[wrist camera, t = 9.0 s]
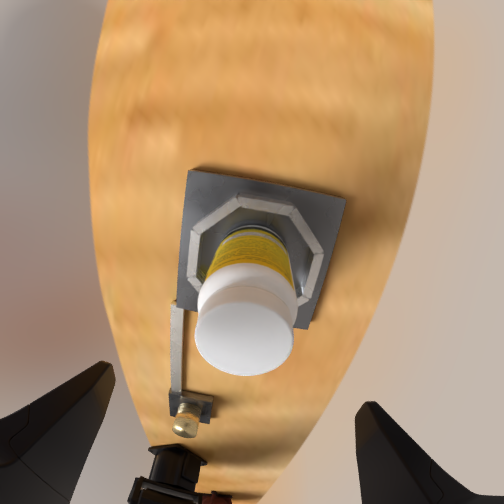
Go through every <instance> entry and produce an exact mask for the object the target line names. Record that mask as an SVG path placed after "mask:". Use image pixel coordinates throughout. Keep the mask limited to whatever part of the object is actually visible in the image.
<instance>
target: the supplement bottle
mask: <svg viewBox="0 0 504 504" xmlns="http://www.w3.org/2000/svg"><path fill="white" fill-rule="evenodd" d="M297 311H298V303H297V296H296V291H295V286H294V281H293V276H292V270H291V265H290V259H289V253H288V250H287V248H286V245H285V244H284V242H283V240H282V239H281V238H280V237H279V236H278V235H277V234H276V233H275V232H273V231H272V230H270V229H268V228H266V227H262V226H257V225H247V226H242V227H239V228H236V229H234V230H233V231H231V232H230V233H228V234H227V235H226V236H225V237H224V238H223V239H222V241H221V242H220V244H219V246H218V248H217V251H216V253H215V255H214V258H213V260H212V262H211V265H210V267H209V270H208V272H207V274H206V277H205V279H204V282H203V283H202V286H201V289H200V292H199V296H198V313H199V315H198V321H197V325H196V329H195V342H196V346H197V348H198V350H199V352H200V354H201V355H202V356H203V358H204V359H205V360H206V361H207V362H208V363H210V364H211V365H212V366H214V367H215V368H217V369H219V370H221V371H224V372H227V373H230V374H234V375H241V376H252V375H259V374H263V373H266V372H269V371H271V370H273V369H275V368H277V367H278V366H280V365H281V364H282V363H283V362H284V361H285V360H286V359H287V358H288V356H289V355H290V353H291V351H292V348H293V343H294V334H293V325H294V323H295V321H296V318H297Z"/></svg>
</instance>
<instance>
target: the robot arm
mask: <svg viewBox="0 0 504 504" xmlns="http://www.w3.org/2000/svg"><path fill="white" fill-rule="evenodd" d="M114 386H115V374H114V370H113V366H112V364H111V363H108V362H105V361H99V362H98V363H96V364H94V365H93V366H91V367H90V368H88V369H86V370H85V371H83V372H81V373H80V374H78V375H77V376H75V377H73V378H71V379H70V380H68V381H67V382H65V383H63V384H62V385H60V386H58V387H57V388H55V389H53V390H52V391H50V392H48V393H47V394H45V395H43V396H42V397H40V398H38V399H37V400H35V401H33V402H32V403H30V405H27V406H25V407H23V408H21V409H20V410H18V411H16V412H14V413H12V414H10V415H8V416H6V417H4V418H2V419H0V504H70V501H71V498H72V495H73V493H74V490H75V487H76V485H77V482H78V479H79V477H80V474H81V472H82V469H83V466H84V464H85V461H86V459H87V457H88V454H89V452H90V449H91V447H92V445H93V443H94V440H95V438H96V436H97V433H98V431H99V429H100V426H101V424H102V422H103V419H104V417H105V414H106V410H107V407H108V404H109V401H110V398H111V395H112V392H113V389H114ZM355 437H356V456H357V464H358V472H359V480H360V488H361V497H362V504H504V496H488V495H479V494H475V493H473V492H471V491H470V490H468V489H467V488H465V487H464V486H463V485H462V484H460V483H459V482H458V481H456V480H455V479H454V478H453V477H451V476H450V475H449V474H448V473H447V472H445V471H444V470H443V469H442V468H441V467H440V466H439V465H438V464H437V463H436V462H435V461H434V460H433V459H431V457H430V456H429V455H428V454H427V453H426V452H425V451H424V450H423V449H422V448H421V447H420V446H419V445H418V444H417V443H416V442H415V441H414V440H413V439H412V438H411V437H410V436H409V435H408V434H407V433H406V432H405V431H404V430H403V429H402V428H401V427H400V426H399V425H398V424H397V423H396V422H395V421H394V420H393V419H392V418H391V417H390V416H389V415H388V414H387V412H385V410H384V409H383V408H382V407H381V406H380V405H379V404H378V403H377V402H375V401H371V402H370V401H367V402H365V403H364V404H363V405H362V407H361V408H360V409H359V411H358V412H357V414H356V416H355ZM148 451H150V452H151V453H153V454H154V455H155V458H154V462H153V465H152V469H151V472H150V476H149V479H146V478H144V477H142V476H141V477H140V478H135V481H134V484H133V487H132V490H131V492H130V495H129V497H128V500H127V502H128V503H129V504H202V497H203V493H197V492H194V491H195V485H196V483H198V478H199V472H200V466H204V465H207V462H206V461H205V460H203V459H201V458H200V457H198V456H196V455H195V454H193V453H191V452H190V451H188V450H187V449H185V448H184V447H182V446H181V445H178V444H175V445H167V446H159V447H149V449H148ZM143 488H144V489H143Z"/></svg>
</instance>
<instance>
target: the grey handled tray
mask: <svg viewBox="0 0 504 504" xmlns="http://www.w3.org/2000/svg"><path fill="white" fill-rule="evenodd" d="M345 204H346V199H344V198H343V197H339V196H335V195H330V194H326V193H322V192H317V191H313V190H308V189H303V188H298V187H294V186H289V185H284V184H279V183H273V182H268V181H263V180H257V179H252V178H246V177H240V176H234V175H228V174H221V173H214V172H208V171H201V170H193V169H191V170H188V175H187V183H186V191H185V200H184V209H183V218H182V228H181V240H180V252H179V265H178V281H177V301H172V303H171V328H170V358H171V388H170V391H169V407H170V416H173V417H176V418H175V421H174V425H173V429H172V430H173V432H174V433H175V434H177V435H179V436H181V437H184V438H194V437H196V435H197V430H198V425H199V422H201V423H206V424H210V418H211V410H212V403H213V396H208V395H203V394H198V393H193V392H188V391H184V390H182V364H183V334H184V314H185V309H186V310H191V311H196V312H198V296H199V292H200V289H201V286H202V283H203V282H204V279H205V277H206V274H207V272H208V270H209V267H210V265H211V262H212V260H213V258H214V255H215V253H216V251H217V248H218V246H219V244H220V242H221V241H222V239H223V238H224V237H225V236H226V235H227V234H228V233H230V232H231V231H233V230H234V229H236V228H239V227H242V226H247V225H257V226H262V227H266V228H268V229H270V230H272V231H273V232H275V233H276V234H277V235H278V236H279V237H280V238H281V239H282V240H283V242H284V244H285V245H286V248H287V250H288V253H289V259H290V265H291V270H292V276H293V281H294V286H295V291H296V296H297V303H298V311H297V318H296V321H295V323H294V325H293V328H299V329H307V330H308V327H309V324H310V321H311V318H312V316H313V313H314V310H315V307H316V304H317V301H318V298H319V295H320V291H321V288H322V285H323V282H324V279H325V276H326V272H327V269H328V266H329V262H330V259H331V256H332V252H333V249H334V245H335V242H336V238H337V234H338V231H339V227H340V223H341V220H342V216H343V212H344V208H345Z"/></svg>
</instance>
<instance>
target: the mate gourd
mask: <svg viewBox="0 0 504 504" xmlns="http://www.w3.org/2000/svg"><path fill="white" fill-rule="evenodd" d="M211 493H212V494H205V493H203V497H202V504H232V502H231V498H232V496H231V495H219V494H217V492H216V491H211Z"/></svg>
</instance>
